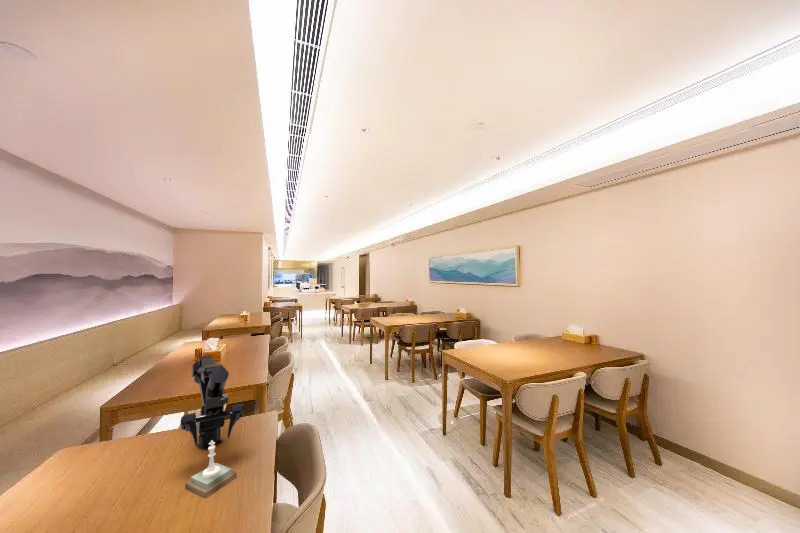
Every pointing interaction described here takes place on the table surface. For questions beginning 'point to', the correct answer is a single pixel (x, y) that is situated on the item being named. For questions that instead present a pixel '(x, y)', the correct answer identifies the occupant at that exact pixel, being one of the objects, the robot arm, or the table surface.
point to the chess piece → (211, 463)
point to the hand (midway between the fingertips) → (212, 441)
